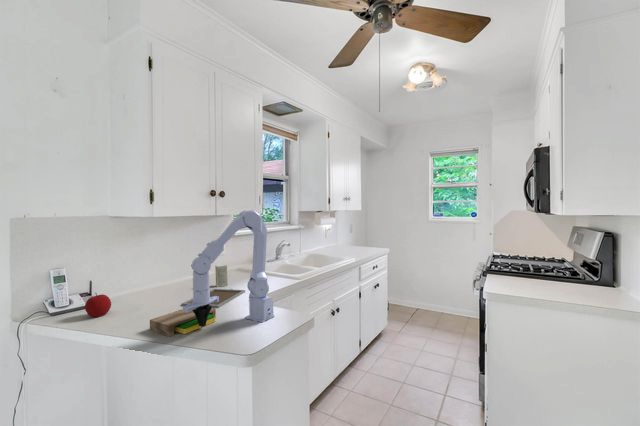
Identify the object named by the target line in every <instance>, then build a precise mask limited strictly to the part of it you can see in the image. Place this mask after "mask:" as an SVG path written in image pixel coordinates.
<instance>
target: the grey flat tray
mask: <svg viewBox="0 0 640 426" xmlns="http://www.w3.org/2000/svg"><path fill="white" fill-rule="evenodd" d="M244 293H246V289H233V288H229V289H226V288H212V289H210V297H213V296H219V301H218V302H214V303H211V304H209V305H211V306H212V308H214V309H220V308H221V307H222V306H224V305H226V304H228V303H229V302H231V301H233V300H234V299H236V298H238V297H240V296H242V295H243V294H244ZM192 302H193V297H192V298H191V299H188V300H185V301H184V302H182V303H181V305H180V306H181V307H183V306H186V305H188V304H190V303H192Z"/></svg>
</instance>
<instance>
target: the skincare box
mask: <svg viewBox="0 0 640 426" xmlns="http://www.w3.org/2000/svg"><path fill="white" fill-rule="evenodd" d="M214 268H215V286H216V288H220V287H228V284H229V283H228V282H229V281H228V264H218V265H215V267H214Z"/></svg>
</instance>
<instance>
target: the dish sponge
mask: <svg viewBox="0 0 640 426" xmlns="http://www.w3.org/2000/svg"><path fill="white" fill-rule="evenodd" d="M215 322H216V318H215V316H214V315H210V314H208V317H207V321H206V326H207V325H210V324H213V323H215ZM200 328H202V327H201V326H199V323H198V320H197V318H195V319H192V320H190V321H187V322H184V323H182V324H179V325H176V326H174V332H176V333H180V334H183V335H186V334H188V333H192V332H193V331H196V330H199V329H200Z"/></svg>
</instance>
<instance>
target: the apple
mask: <svg viewBox="0 0 640 426" xmlns="http://www.w3.org/2000/svg"><path fill="white" fill-rule="evenodd" d="M94 294H95V295H94V296H91V297H89V298H88V299H87V300H86V302H85V305H84V309H85V313H87V315H88V316H90V317H92V318H93V317H94V318H99V317H102V316H105V315H106V314H107V313H108V312H110V310H111V308H112V300H111V299H110V297H109V296H108V295H107V294H104V293H103V294H102V293H101V294H98V295H97V292H95V293H94Z"/></svg>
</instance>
